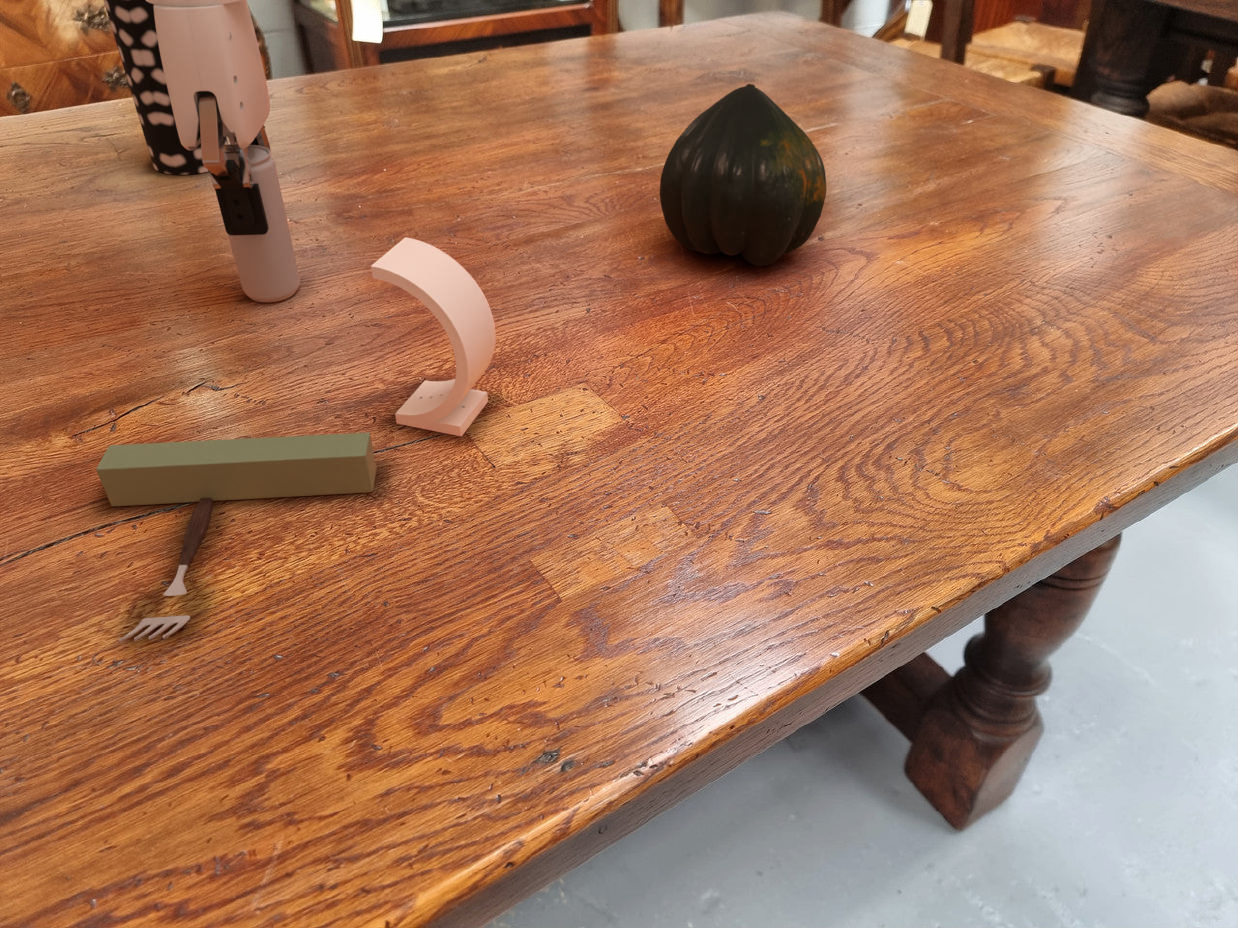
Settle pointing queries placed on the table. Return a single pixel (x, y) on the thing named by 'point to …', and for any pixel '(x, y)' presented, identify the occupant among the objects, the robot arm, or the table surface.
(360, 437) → the rail
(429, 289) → the headphone stand
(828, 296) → the table surface
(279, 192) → the beverage can
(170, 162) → the spotted tube
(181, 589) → the fork
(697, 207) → the squash
